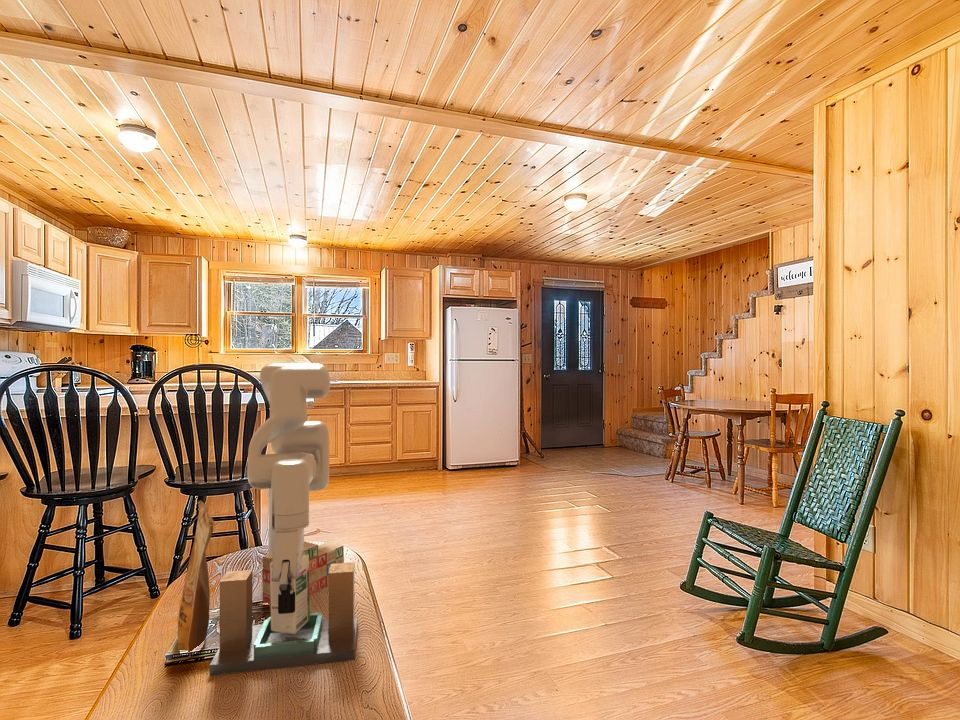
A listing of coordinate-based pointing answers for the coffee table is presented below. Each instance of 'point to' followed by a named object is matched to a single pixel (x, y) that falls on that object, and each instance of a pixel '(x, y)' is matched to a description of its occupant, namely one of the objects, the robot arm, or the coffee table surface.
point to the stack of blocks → (318, 566)
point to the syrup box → (302, 603)
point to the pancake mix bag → (196, 588)
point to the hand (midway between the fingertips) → (290, 602)
